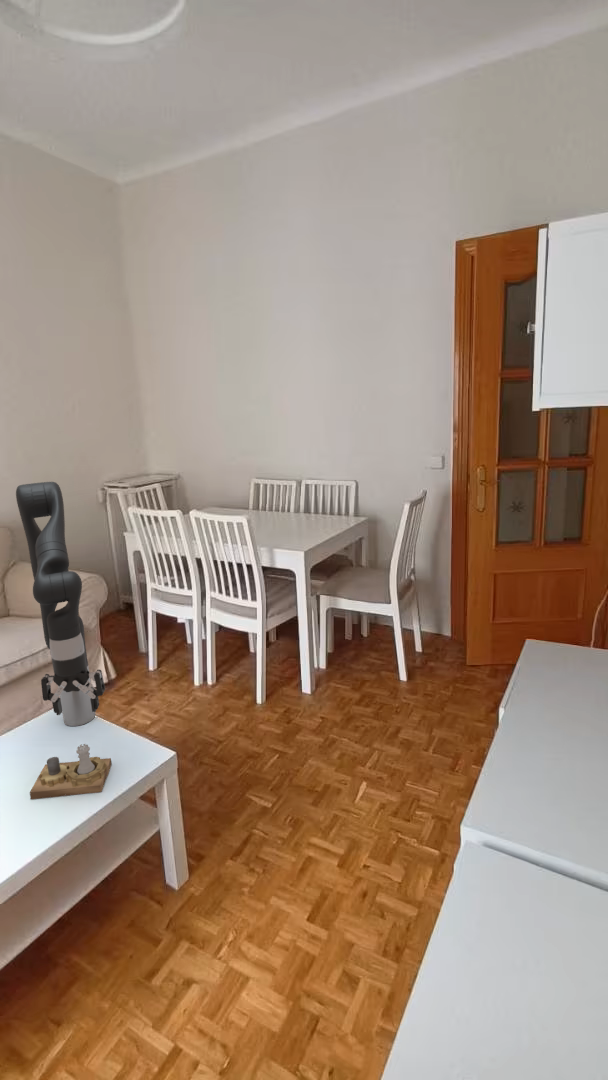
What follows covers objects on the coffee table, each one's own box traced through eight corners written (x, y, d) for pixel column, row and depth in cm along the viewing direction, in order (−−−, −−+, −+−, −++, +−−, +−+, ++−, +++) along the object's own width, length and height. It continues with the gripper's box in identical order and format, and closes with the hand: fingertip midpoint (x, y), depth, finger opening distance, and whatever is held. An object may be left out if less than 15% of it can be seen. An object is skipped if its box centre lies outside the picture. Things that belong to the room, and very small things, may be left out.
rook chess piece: (89, 780, 139) (85, 752, 137) (73, 778, 140) (69, 751, 138) (99, 769, 143) (95, 742, 141) (84, 767, 144) (79, 740, 142)
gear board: (46, 770, 147) (42, 747, 145) (112, 764, 148) (109, 741, 147) (30, 799, 136) (26, 774, 134) (101, 792, 138) (98, 767, 136)
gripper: (101, 643, 138) (110, 701, 142) (42, 647, 136) (52, 706, 140) (94, 656, 130) (102, 717, 134) (31, 661, 129) (42, 722, 133)
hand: (77, 711), depth 137 cm, fingers open, 8 cm apart
